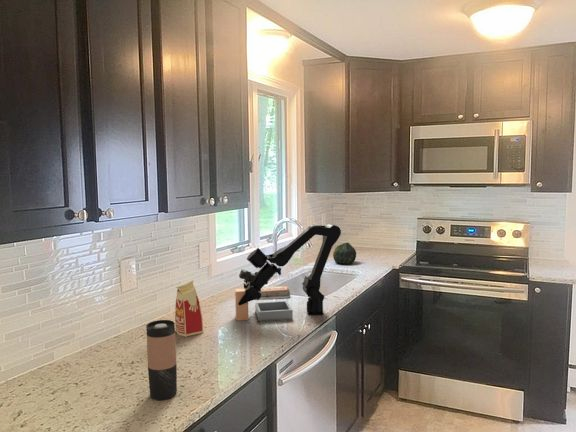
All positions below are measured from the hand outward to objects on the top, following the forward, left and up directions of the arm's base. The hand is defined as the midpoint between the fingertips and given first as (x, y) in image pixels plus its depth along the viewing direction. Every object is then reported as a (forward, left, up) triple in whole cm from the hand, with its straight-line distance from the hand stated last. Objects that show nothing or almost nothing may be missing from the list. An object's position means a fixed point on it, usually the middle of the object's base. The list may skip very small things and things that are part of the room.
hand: (238, 302), depth 196 cm
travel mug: (+14, +67, -7) cm, 68 cm away
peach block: (-1, 0, -7) cm, 7 cm away
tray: (-14, -3, -7) cm, 16 cm away
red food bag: (+18, +16, -7) cm, 25 cm away
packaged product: (-12, -34, -7) cm, 37 cm away
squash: (-57, -112, -7) cm, 126 cm away
